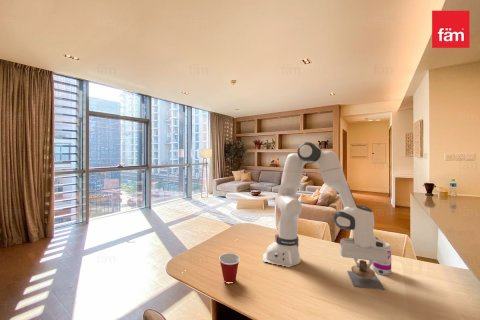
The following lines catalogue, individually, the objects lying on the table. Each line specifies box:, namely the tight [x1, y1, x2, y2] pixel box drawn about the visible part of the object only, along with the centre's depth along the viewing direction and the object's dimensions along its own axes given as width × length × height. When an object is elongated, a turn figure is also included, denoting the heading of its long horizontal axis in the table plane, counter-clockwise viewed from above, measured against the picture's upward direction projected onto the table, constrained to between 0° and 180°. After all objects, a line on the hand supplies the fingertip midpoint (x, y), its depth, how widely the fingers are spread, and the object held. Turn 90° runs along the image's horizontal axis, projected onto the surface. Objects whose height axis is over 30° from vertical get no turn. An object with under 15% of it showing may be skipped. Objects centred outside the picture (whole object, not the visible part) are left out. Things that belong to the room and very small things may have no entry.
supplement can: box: [372, 241, 392, 276], centre depth 113 cm, size 8×8×15 cm
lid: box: [350, 259, 376, 278], centre depth 106 cm, size 10×10×5 cm
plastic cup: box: [218, 252, 241, 283], centre depth 108 cm, size 11×11×12 cm
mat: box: [346, 270, 386, 291], centre depth 106 cm, size 13×13×1 cm
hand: (362, 267), depth 106 cm, fingers closed on lid, 3 cm apart
